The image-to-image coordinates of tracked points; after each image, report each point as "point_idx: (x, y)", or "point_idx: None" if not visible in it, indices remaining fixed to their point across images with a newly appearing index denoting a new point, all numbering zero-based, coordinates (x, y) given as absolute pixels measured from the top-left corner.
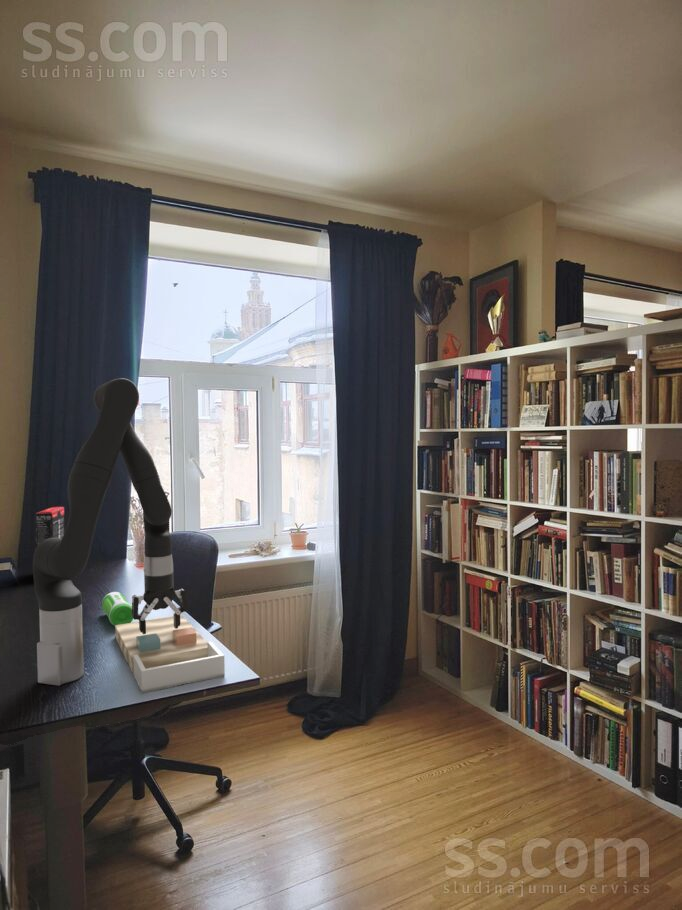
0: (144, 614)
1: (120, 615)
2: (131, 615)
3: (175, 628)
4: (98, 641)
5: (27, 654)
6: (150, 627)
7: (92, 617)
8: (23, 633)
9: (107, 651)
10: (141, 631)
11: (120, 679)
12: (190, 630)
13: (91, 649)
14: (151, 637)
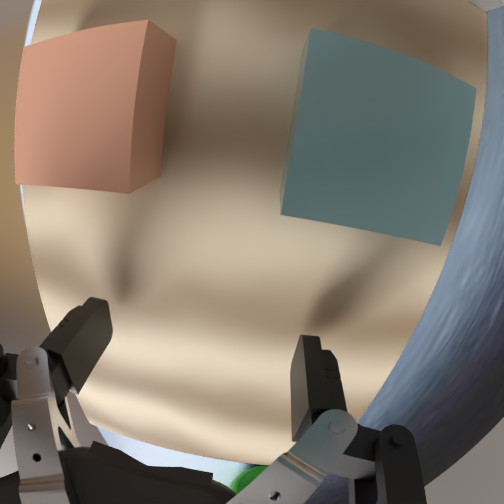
0: (324, 456)
1: None
2: (240, 488)
3: (106, 302)
4: (370, 427)
5: (499, 404)
6: (219, 414)
7: None
8: (423, 477)
9: (407, 354)
10: (328, 354)
11: (491, 42)
12: (29, 117)
13: (422, 388)
14: (364, 128)
